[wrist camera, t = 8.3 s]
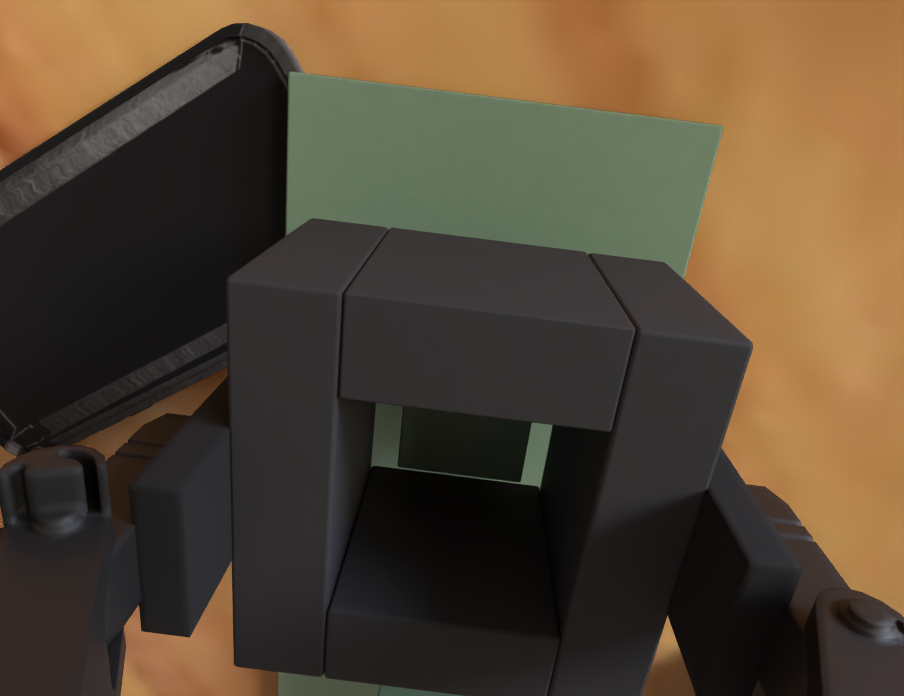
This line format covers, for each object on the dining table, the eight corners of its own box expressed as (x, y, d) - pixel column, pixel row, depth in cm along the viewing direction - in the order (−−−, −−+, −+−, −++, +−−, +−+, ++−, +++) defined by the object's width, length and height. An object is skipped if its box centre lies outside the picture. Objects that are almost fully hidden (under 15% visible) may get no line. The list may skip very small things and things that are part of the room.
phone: (-153, 268, 19) (258, 3, 16) (-120, 259, 20) (272, 9, 17) (23, 472, 21) (411, 279, 18) (45, 454, 22) (415, 269, 19)
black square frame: (595, 549, 17) (635, 719, 12) (301, 511, 17) (232, 668, 12) (667, 261, 14) (757, 343, 9) (310, 216, 14) (223, 276, 9)
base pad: (544, 775, 26) (557, 927, 22) (284, 742, 26) (239, 885, 22) (709, 123, 17) (799, 133, 12) (300, 73, 17) (225, 62, 12)
